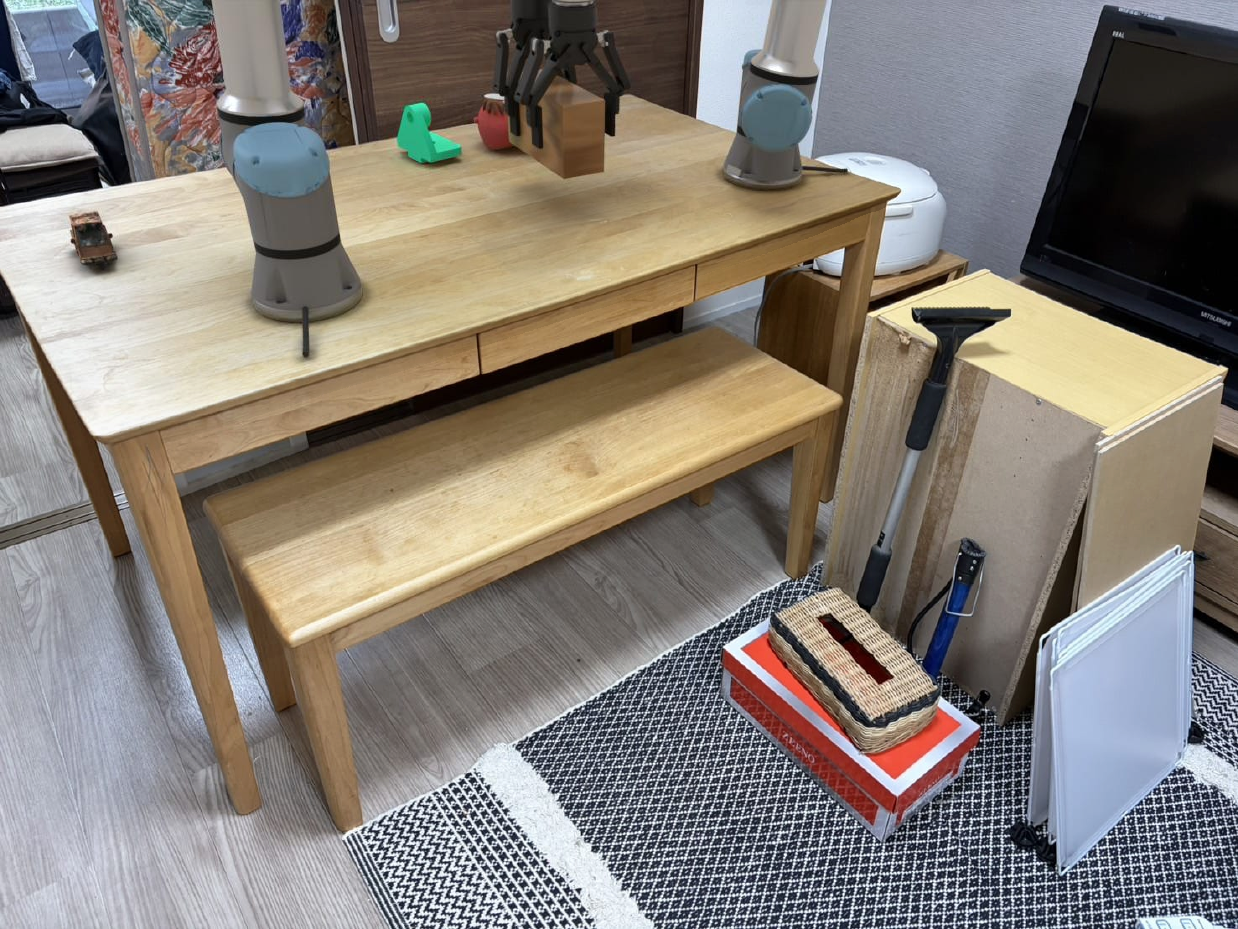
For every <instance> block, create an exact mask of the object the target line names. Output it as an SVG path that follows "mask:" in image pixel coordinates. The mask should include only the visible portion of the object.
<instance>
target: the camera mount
mask: <svg viewBox="0 0 1238 929" xmlns="http://www.w3.org/2000/svg"><path fill="white" fill-rule="evenodd" d="M431 123H432V114H431V111H430V109H429V107H428V106H427V104H425V103H424V102H419V103H414V104H409V105H406V106H405V107H404V110H403V114H402V117H401V121H400V125H399V129H398V133H397V137H396V143H397V147H398V148H400V149H402V150H404V151H406V152H407V156H408V158H410V159H412V160H413V161H416V162H418V163H420V164H424V163H427V162H428V163H435V162H438V161H439V162H440V161H443V160H447V159H452V158H456V157H459V156H461V155H463V153H462V151H463V150H462V145H461V144H458V143H457V142H454V141H452V140H449V139H447V138H445V137H443V136H441V135H439V134H437V133H434V132H431V131H430V130H429V128H428V127H429V126H430V125H431Z"/></svg>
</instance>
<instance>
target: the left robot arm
mask: <svg viewBox="0 0 1238 929" xmlns="http://www.w3.org/2000/svg"><path fill="white" fill-rule="evenodd" d="M211 4H212V5H211V6H212V10H213V11H212V12H213V17H214V24H215V30H216V35H217V37H216V38H217V42H218V49H219V55H220V60H221V62H220V63H221V68H222V74H223V81H224V86H225V90H224V91H223V93H222V94H221V96H220V97H219V98H218V99H217V101H216V108H217V115H218V120H219V129H220V134H219V143H218V144H219V145H218V146H219V151H220V156H221V159H222V162H223V164H224V166H225V168H226V170H227V171H228V173H229V175H230V176H232V179H233V181H234V183H235V184H236V187H237V188H238V191H239V193H240V195H241V197H242V200H243V203H244V206H245V211H246V215H247V219H248V220H247V221H248V224H249V228H250V234H251V237H252V238H251V239H252V242H253V247H254V251H255V258H254V264H253V273H252V283H251V289H250V294H251V299H252V303H253V307H254V309H255V310H256V311H257V313H259V314H260V315H262V316H264V317H266V318H268V319H271V320H275V321H281V322H289V323H301V325H302V354H301V355H302V357H303V358H308V357H309V356H310V326H309V323H310V322H314V321H315V322H316V321H320V320H326V319H330V318H332V317H336V316H338V315H341V314H343V313H345V312H348V311H349V310H351V309H353V308H354V307H355V306H356V305H357V304H358V303H359V302H360V301H361V298H362V297H363V287H362V282H361V278H360V276H359V274H358V272H357V270H356V268H355V266H354V264H353V263H352V261H351V259H350V257H349V255H348V253H347V251H346V250H345V248H344V245H343V243H342V239H341V233H340V226H339V220H338V214H337V209H336V202H335V196H334V195H335V194H334V190H333V184H332V183H333V182H332V177H331V167H330V166H331V164H330V163H331V162H330V158H329V154H328V152H327V149H326V146H325V142H324V140H323V139H322V137H321V136H320V135H319V134H318V133H317V132H316V131H315V130H313V129H311V128H309V127H307V119H306V112H305V104H304V100H303V99H301V98H300V96H298V95H297V94H296V93H295V92H294V91H293V90H292V87H291V79H290V78H291V77H290V70H289V64H288V53H287V46H286V38H285V30H284V29H285V28H284V20H283V14H282V4H281V0H211ZM548 16H549V30H550V34H549V38H548V39H538V38H536V37H533V38H532V39H531V43H530V53H529V56H528V58H527V59H526V61H525V64H524V67H523V71H522V72H523V73H522V76H521V78H520V81H519V84H518V87H517V89H516V92H515V95H514V100H515V101H517V102H518V103H520V104H522V105H525V106H526V123H527V125H528V126H530V127H531V131H532V144H533V145H534V146H536V147H537V148H539V149H542V148H543V121H542V107H540V106H539V105H538V103H539V102H540V100H541V99H542V97H543V96H544V94H545V92H546V91H547V89H548V88H549V86H550V84H551V83H552V81H553V80H554V78H555V77H556V75H557V73H558V72H560V71H561V70H562V71H563V67H564V66H566V67H573V66H575V67H576V66H579V67H581V66H585V65H586V64H587V65H588V66H589V67H590V69H591V70H592V71H593V72H594V74H595V75H596V76H597V78H598V79H599V80H600V82H601V83H602V84H603V86H604V87H605V88H606V89H607V90H608V91H607V92H603V99H604V100H605V135H607V136H609V137H611V138H613V137H616V115H619V113H620V109H621V108H620V106H621V105H620V104H621V103H620V101H621V99H620V98H621V97H623V96H624V91H629V90H630V89H631V86H632V84H631V82H630V78H629V77H628V74H627V72H626V70H625V67H624V65H623V62H622V60H621V58H620V55H619V52H618V50H617V48H616V42H615V33H614V32H612V31H609V30H608V29H605V28H603V29H601V30H600V32H598V33H597V31H596V30H597V26H598V5H597V3H596V2H595V0H552V1H551V2H550V3H549V4H548ZM598 44H599V46H601V49H602V51H603V54H604V56H605V58H606V61H607V63H608V65H609V69H610V70H611V72H612V75H613V77H614V78H613V77H612V75H611V74H610V73H609V72H608V69H606V67H605V66H604V64H602V62H601V60H600V58H599V57H598V56H597V54H596V53H595V52H594V51H595V50H596V48H597V45H598ZM548 48H549V49H550V51H551V52H552V53H551V54H550V56H549V57H548V59H547V61H546V60H545V65H544V66H543V68H542V69H543V70H542V72H541V73H540V75H539V76H538V78H537V79H536V77H537V74H538V71H539V70H540V68H541V66H542V63H543V60H544V57H545V56H544V54H546V52H547V49H548ZM556 61H557V62H556ZM535 79H536V81H535ZM534 82H535V83H534Z"/></svg>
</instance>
